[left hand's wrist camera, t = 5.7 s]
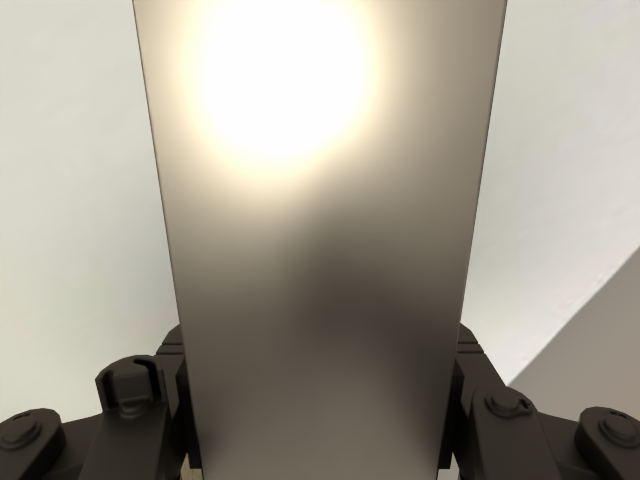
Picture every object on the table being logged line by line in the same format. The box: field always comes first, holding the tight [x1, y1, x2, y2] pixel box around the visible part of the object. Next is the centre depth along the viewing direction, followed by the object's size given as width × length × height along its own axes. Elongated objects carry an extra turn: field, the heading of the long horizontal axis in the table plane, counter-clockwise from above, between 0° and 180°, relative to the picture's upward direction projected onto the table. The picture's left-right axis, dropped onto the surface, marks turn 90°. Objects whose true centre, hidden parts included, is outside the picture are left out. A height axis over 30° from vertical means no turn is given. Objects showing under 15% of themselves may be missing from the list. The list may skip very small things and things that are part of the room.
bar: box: [132, 0, 507, 480], centre depth 9 cm, size 22×5×8 cm, turn 0°
